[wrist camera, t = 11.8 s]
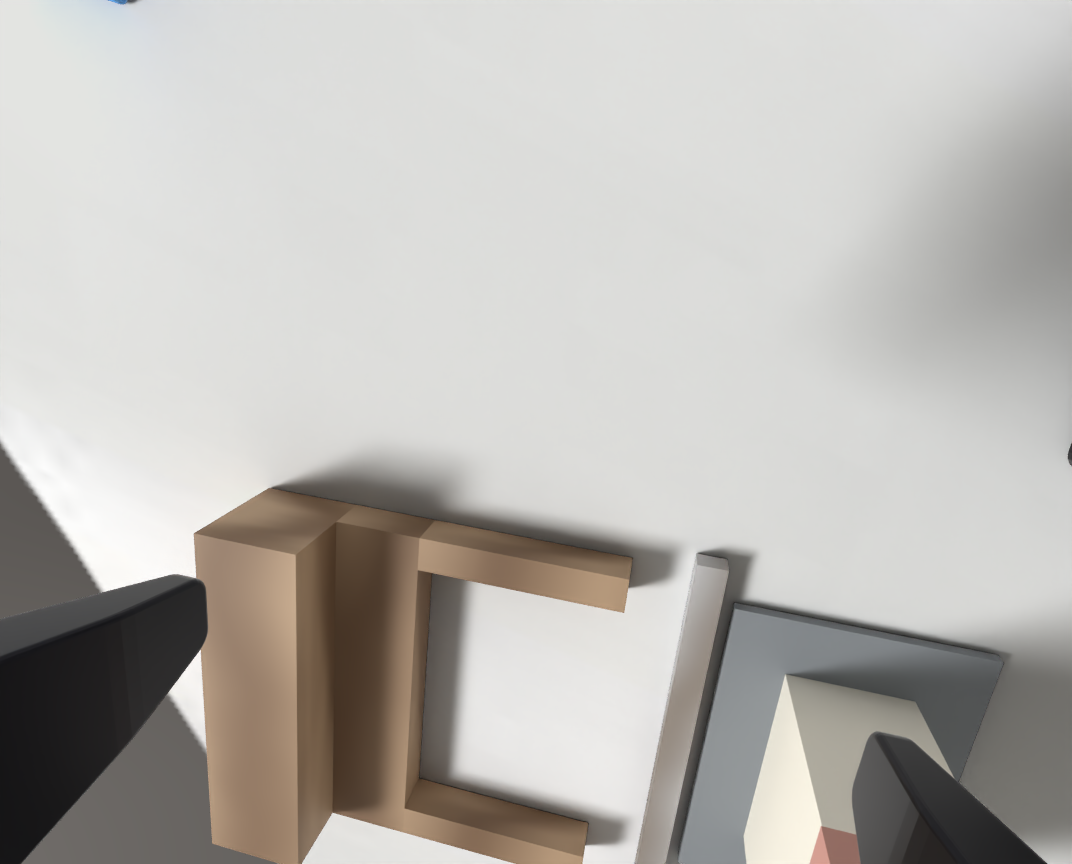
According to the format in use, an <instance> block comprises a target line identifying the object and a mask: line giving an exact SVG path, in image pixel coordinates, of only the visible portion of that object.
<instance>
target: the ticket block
mask: <svg viewBox="0 0 1072 864" xmlns="http://www.w3.org/2000/svg"><path fill="white" fill-rule="evenodd" d="M876 731H879V732H884V733H888V734H893V735H897V736H902V737H906V738H909V739H911V740H912V741H913V742H915V743H916V744H917V745H918V746H919V747H920V748H921V749H922V750H923V751H925V752H926V753H927V754H928V755H929V756H930V757H931V758H932V759H933V760H934V761H936V762H937V763H938V764H939V765H940V766H941V767H942V768H943V769H944V770H945V771H946V772H948V773H949V774H950V775H951V776H952V777H953V775H952V773H951V771H950V769H949V767H948V765H947V763H946V761H945V759H944V757H943V755H942V753H941V751H940V749H939V747H938V745H937V743H936V741H935V739H934V737H933V735H932V733H931V731H930V730H929V728H928V726H927V724H926V722H925V720H924V718H923V716H922V714H921V712H920V710H919V708H918V706H917V704H916V702H914V701H910V700H905V699H900V698H895V697H891V696H886V695H881V694H877V693H872V692H867V691H862V690H858V689H853V688H848V687H843V686H839V685H834V684H829V683H825V682H820V681H815V680H810V679H806V678H801V677H796V676H791V675H787V674H785V677H784V681H783V685H782V689H781V693H780V697H779V701H778V704H777V708H776V712H775V716H774V720H773V724H772V728H771V732H770V735H769V739H768V743H767V747H766V751H765V755H764V759H763V763H762V766H761V770H760V774H759V778H758V782H757V786H756V790H755V794H754V797H753V801H752V805H751V809H750V813H749V817H748V821H747V825H746V828H745V832H744V845H745V855H746V864H860V857H859V850H858V843H857V836H856V829H855V822H854V815H853V808H852V788H853V783H854V780H855V777H856V773H857V770H858V767H859V764H860V761H861V758H862V755H863V751H864V748H865V745H866V742H867V740H868V738H869V736H870V735H871V734H872V733H874V732H876ZM953 778H954V777H953Z"/></svg>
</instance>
